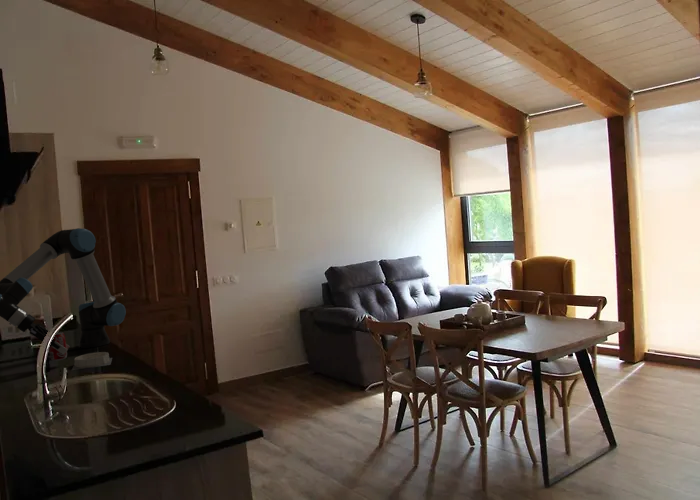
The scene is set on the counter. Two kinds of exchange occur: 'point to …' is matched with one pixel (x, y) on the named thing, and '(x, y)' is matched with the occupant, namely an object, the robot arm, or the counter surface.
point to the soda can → (54, 353)
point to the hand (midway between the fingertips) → (66, 350)
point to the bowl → (91, 360)
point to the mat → (95, 366)
